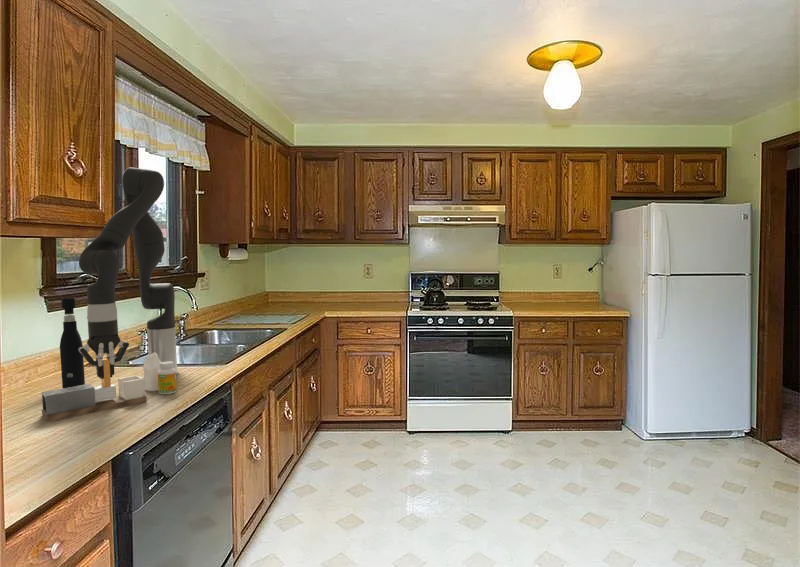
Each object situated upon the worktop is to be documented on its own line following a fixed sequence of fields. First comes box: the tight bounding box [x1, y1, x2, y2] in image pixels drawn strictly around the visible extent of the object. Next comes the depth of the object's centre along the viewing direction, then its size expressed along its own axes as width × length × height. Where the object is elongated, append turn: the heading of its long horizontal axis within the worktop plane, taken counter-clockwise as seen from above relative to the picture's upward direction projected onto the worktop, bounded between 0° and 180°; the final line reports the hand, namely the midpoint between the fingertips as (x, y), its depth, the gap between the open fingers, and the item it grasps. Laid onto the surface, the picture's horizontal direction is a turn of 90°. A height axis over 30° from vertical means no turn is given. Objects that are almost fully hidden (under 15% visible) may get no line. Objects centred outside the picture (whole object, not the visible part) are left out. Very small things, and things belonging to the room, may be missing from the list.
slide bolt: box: [93, 357, 117, 402], centre depth 151 cm, size 14×4×12 cm, turn 134°
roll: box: [143, 352, 161, 392], centre depth 172 cm, size 6×12×6 cm
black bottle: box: [59, 297, 86, 389], centre depth 175 cm, size 6×6×30 cm
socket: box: [117, 374, 146, 400], centre depth 159 cm, size 6×6×5 cm
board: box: [41, 394, 147, 423], centre depth 153 cm, size 25×8×2 cm, turn 134°
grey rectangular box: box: [41, 383, 96, 416], centre depth 148 cm, size 12×5×5 cm, turn 134°
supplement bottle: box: [157, 361, 178, 395], centre depth 168 cm, size 5×5×10 cm
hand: (106, 377), depth 154 cm, fingers closed on slide bolt
